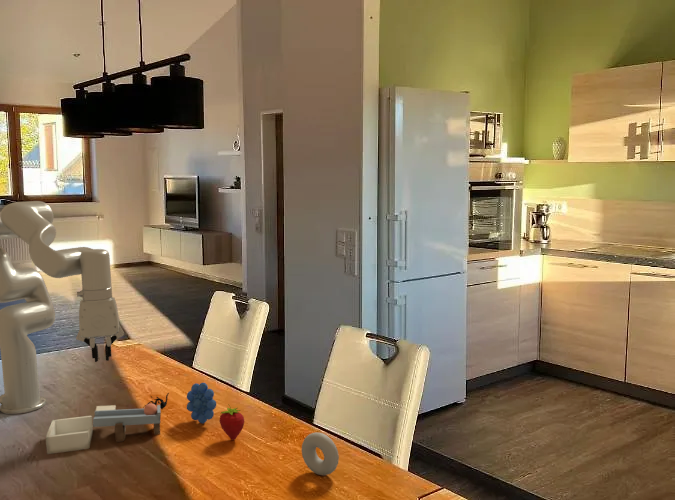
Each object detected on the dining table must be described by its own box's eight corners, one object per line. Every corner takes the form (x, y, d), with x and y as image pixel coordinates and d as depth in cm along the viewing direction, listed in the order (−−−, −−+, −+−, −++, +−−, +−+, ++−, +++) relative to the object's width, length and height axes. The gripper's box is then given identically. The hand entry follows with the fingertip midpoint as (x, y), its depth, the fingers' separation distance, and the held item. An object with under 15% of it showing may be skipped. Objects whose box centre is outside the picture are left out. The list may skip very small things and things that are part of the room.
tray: (47, 454, 165) (45, 437, 164) (53, 435, 176) (52, 420, 176) (89, 448, 168) (87, 432, 167) (92, 430, 179) (91, 415, 179)
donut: (299, 471, 152) (297, 430, 151) (308, 466, 155) (307, 425, 154) (333, 483, 146) (332, 440, 145) (342, 477, 149) (341, 435, 148)
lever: (92, 428, 170) (93, 416, 170) (96, 411, 183) (96, 399, 182) (160, 425, 175) (160, 412, 175) (159, 408, 188) (159, 396, 187)
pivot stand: (115, 442, 171) (114, 424, 171) (116, 431, 178) (115, 414, 178) (124, 441, 172) (123, 423, 171) (125, 430, 179) (124, 413, 178)
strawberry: (231, 447, 166) (229, 410, 165) (215, 439, 172) (213, 403, 170) (250, 440, 170) (249, 404, 169) (233, 432, 176) (232, 397, 174)
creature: (138, 418, 191) (162, 414, 189) (133, 401, 190) (157, 396, 188) (150, 408, 198) (174, 404, 196) (146, 392, 198) (169, 387, 196)
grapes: (227, 422, 183) (226, 381, 181) (209, 430, 177) (207, 388, 176) (200, 413, 190) (198, 374, 188) (181, 421, 184) (179, 380, 183)
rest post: (154, 434, 176) (153, 423, 175) (154, 427, 180) (153, 416, 180) (160, 434, 176) (159, 422, 176) (160, 427, 181) (159, 416, 180)
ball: (143, 418, 175) (144, 405, 175) (143, 413, 178) (144, 401, 178) (156, 418, 176) (158, 406, 176) (156, 414, 179) (158, 401, 179)
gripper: (64, 299, 172) (69, 367, 174) (127, 294, 176) (132, 360, 179) (67, 294, 179) (72, 359, 182) (128, 290, 184) (132, 353, 186)
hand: (102, 359), depth 180 cm, fingers closed
